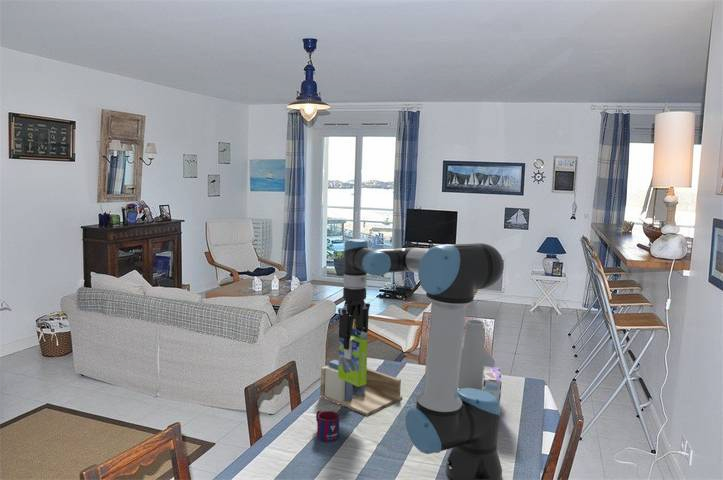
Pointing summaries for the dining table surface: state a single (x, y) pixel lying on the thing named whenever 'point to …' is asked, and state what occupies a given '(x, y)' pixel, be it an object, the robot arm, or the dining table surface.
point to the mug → (327, 425)
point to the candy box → (492, 381)
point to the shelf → (370, 392)
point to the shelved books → (336, 384)
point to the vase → (473, 356)
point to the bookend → (358, 391)
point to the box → (354, 360)
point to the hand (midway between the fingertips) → (353, 356)
